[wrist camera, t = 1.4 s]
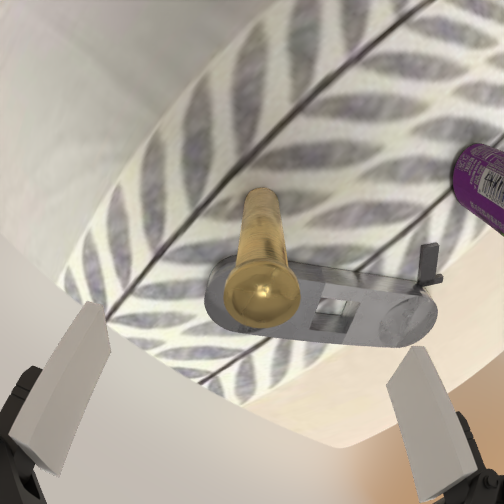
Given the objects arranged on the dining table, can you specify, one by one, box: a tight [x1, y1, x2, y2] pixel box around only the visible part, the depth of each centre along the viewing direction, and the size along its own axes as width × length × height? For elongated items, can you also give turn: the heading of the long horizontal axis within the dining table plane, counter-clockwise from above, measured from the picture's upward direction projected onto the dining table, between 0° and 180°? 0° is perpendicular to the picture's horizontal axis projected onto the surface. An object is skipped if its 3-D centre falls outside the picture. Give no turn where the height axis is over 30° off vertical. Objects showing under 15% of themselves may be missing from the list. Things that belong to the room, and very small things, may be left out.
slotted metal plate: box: [204, 255, 438, 348], centre depth 31 cm, size 7×26×3 cm, turn 80°
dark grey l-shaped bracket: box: [418, 243, 443, 287], centre depth 30 cm, size 5×3×1 cm, turn 11°
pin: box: [223, 188, 301, 328], centre depth 21 cm, size 4×4×14 cm
